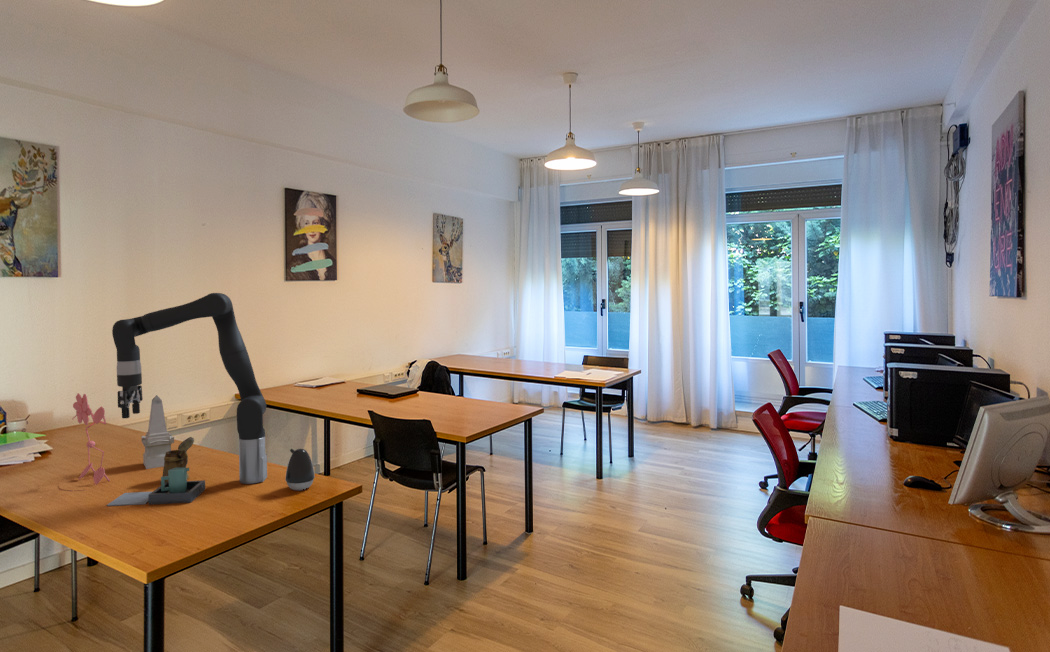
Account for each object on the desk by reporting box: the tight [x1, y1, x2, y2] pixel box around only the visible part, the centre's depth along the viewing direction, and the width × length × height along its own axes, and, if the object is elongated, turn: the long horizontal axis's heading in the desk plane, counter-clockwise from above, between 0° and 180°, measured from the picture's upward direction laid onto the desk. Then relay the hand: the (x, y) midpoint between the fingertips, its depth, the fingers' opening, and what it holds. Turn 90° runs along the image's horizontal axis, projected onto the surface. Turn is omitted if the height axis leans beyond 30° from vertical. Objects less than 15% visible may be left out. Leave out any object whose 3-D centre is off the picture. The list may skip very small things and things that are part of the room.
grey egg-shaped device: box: [285, 448, 316, 491], centre depth 211 cm, size 10×10×15 cm
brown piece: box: [161, 436, 195, 482], centre depth 218 cm, size 9×14×18 cm, turn 69°
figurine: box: [59, 393, 110, 492], centre depth 212 cm, size 15×26×35 cm, turn 59°
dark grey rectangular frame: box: [148, 479, 206, 506], centre depth 201 cm, size 13×13×4 cm
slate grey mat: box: [106, 491, 153, 507], centre depth 198 cm, size 12×12×1 cm
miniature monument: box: [140, 394, 175, 470], centre depth 238 cm, size 10×10×30 cm
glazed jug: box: [160, 467, 190, 493], centre depth 201 cm, size 9×6×10 cm, turn 121°
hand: (131, 415), depth 209 cm, fingers open, 8 cm apart
